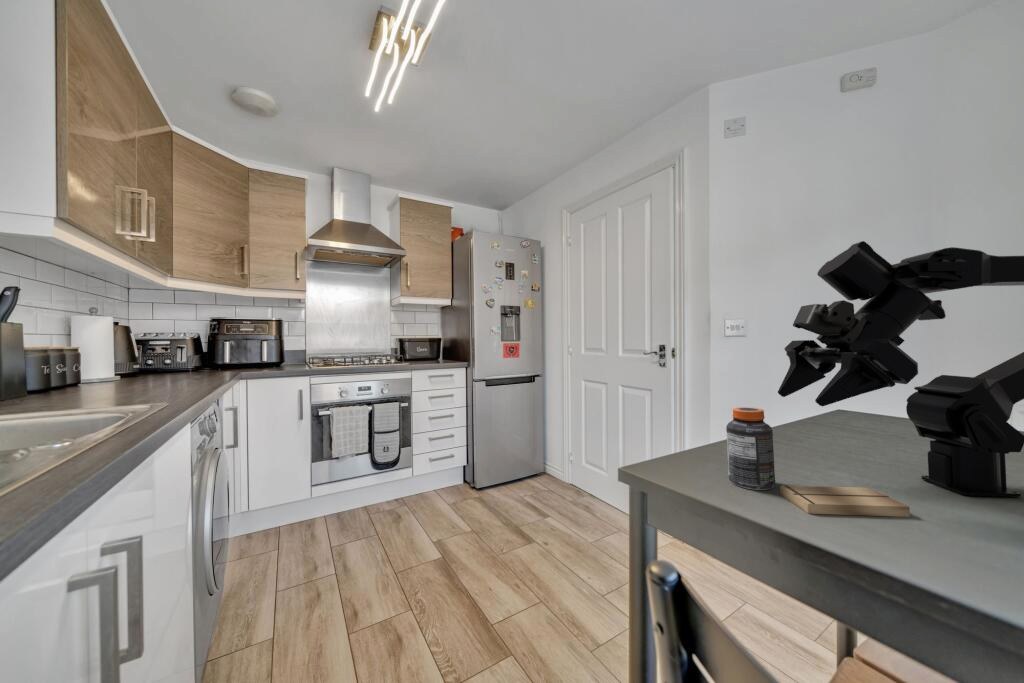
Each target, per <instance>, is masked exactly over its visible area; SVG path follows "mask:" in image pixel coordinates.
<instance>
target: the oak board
mask: <svg viewBox="0 0 1024 683" xmlns="http://www.w3.org/2000/svg"><path fill="white" fill-rule="evenodd" d="M779 488H780V490H779V491H780V495H781V496H782V497H784V498H785V499H787V500H788V501H790V503H792V504H794V505H795V506H797V507H798V508H799V509H800V510H802V511H804V512H805V513H806V514H811V515H813V514H814V515H815V514H816V515H817V514H818V515H840V516H841V515H843V516H844V515H845V516H846V515H847V516H872V517H873V516H876V517H878V516H879V517H902V518H903V517H904V518H906V517H907V518H908V517H909V518H911V517H910V516H911V515H910V514H911V513H910V506H908V505H907V504H904V503H902V502H900V501H898V500H896V499H894V498H892V497H890V496H889V495H885V494H884V493H881V492H880V491H877V490H875V489H873V488H870V487H856V486H855V487H854V486H851V487H848V486H844V487H843V486H813V485H810V486H809V485H780V486H779Z"/></svg>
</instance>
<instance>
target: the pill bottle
mask: <svg viewBox="0 0 1024 683" xmlns="http://www.w3.org/2000/svg"><path fill="white" fill-rule="evenodd" d="M732 418H733V419H732V420H731V421H729V422H728V423H727V424H726V428H725V429H726V450H727V451H726V452H727V468H728V469H727V471H728V472H727V473H728V480H729V481H730V482H731V484H733V485H735V486H738V487H741V488H743V489H748V490H757V491H765V490H771V489H773V488H775V486H776V474H775V454H774V453H775V452H774V438H773V437H774V434H773V433H774V431H773V428H772V426H771V425H770V424H768V423H766V422H765V421H764V420H765V418H766V417H765V411H764V409H762V408H759V407H757V408H755V407H747V406H746V407H742V406H741V407H734V408H733V409H732Z"/></svg>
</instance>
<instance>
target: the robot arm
mask: <svg viewBox="0 0 1024 683" xmlns="http://www.w3.org/2000/svg"><path fill="white" fill-rule="evenodd" d="M816 275H817V276H818V277H819V278H821V279H822V280H823V282H825V283H827V284H828V285H829V286H830V287H831V288H833V289H834V290H835V291H836V292H837V293H838V294H840V295H841V296H842V297H844V299H846V300H837V301H836V300H835V301H833V302H832V303H831V304H829V305H828V304H826V303H823V304H822V303H813V304H808V305H802V306H800V308H799V311H798V312H797V315H796V316H795V318H794V321H793V324H792V327H794V328H796V329H803V330H805V331H808V332H810V333H813V334H816V335H818V336H817V337H816V338H815V339H816V340H818V341H819V342H820V343H821V344H825V345H826V346H825V347H822V346H821V345H820V344H818V343H817V342H816V341H815V340H813V339H812V340H811V339H808V340H807V339H806V340H805V339H804V340H803V339H802V340H800V339H798V340H791V341H790V342H789V343H788V344H787V345H786V346H785V347H784V351H785V352H786V353H785V354H786V356H787V357H788V358H789V359H788V360H789V368H788V370H787V372H786V374H785V376H784V378H783V380H782V382H781V384H780V387H779V389H778V390H777V393H778V395H779V396H780V397H782V398H785V397H787V396H790V395H792V394H794V393H797V392H798V391H800V390H802V389H804V388H807V387H809V386H811V385H812V384H814V383H817V382H818V381H821V380H822V379H824V378H826V374H829V373H831V372H832V371H833V370H834V369H835V368H836V364H840V368H839V370H838V371H837V372H836V374H835V375H834V376H833V377H832V378H831V379H830V381H829V382H828V383H827V384H826V385H825V386H824V388H823V389H822V390H821V391H820V392H819V394H818V396H817V397H816V398H815V401H814V402H815V403H816V404H817V405H818V406H820V407H826V406H829V405H832V404H834V403H837V402H840V401H844V400H847V399H851V398H853V397H854V398H855V397H857V396H860V395H863V394H866V393H870V392H875V391H877V390H881V389H885V388H893V387H894V386H896V384H901V385H908V384H909V383H910V382H911V381H912V380H913V379H914V378H915V377H916V376H917V375H919V363H918V362H917V361H916V360H914V359H913V358H912V357H911V356H910V355H909V354H907V353H906V352H905V351H904V350H902V349H901V348H900V347H899V346H901V345H902V344H903V343H904V342H905V340H904V338H902V337H901V335H902V334H904V333H905V331H906V330H908V328H910V326H912V325H913V324H914V323H915V322H916V321H917V320H918V321H931V320H932V321H933V320H934V321H935V320H944V319H945V318H946V312H945V309H944V308H943V305H942V304H943V301H942V300H941V299H936V300H932V299H931V298H930V297H928V296H927V295H926V294H933V293H937V292H945V291H952V290H953V291H955V290H960V289H966V288H973V287H994V286H995V287H997V286H999V287H1001V286H1003V287H1005V286H1008V287H1011V286H1016V287H1017V286H1024V255H992V254H988V253H986V252H984V251H982V250H980V249H978V250H977V249H971V248H963V247H953V246H952V247H945V248H941V249H936V250H934V251H930V252H926V253H925V252H924V253H922V254H918V255H913V256H910V257H907V258H906V257H905V258H903V259H901V261H900V262H898V263H895V264H894V263H893V264H891V263H890V262H889V261H888V260H886V259H885V258H884V257H882V256H881V255H880V254H879V253H878V252H876V250H874V248H872V246H871V245H870V244H868V242H866V241H864V240H862V241H859V242H856V243H854V244H851V245H850V247H848V248H847V249H846V250H844V251H843V252H841V253H838V254H837V255H836V256H834V257H833V258H832V259H831V260H828V261H826V262H825V263H824V264H823V265H822V266H821V267H820V269H819V270H818V272H817V274H816ZM855 300H860V301H866V303H865V304H863V305H862V306H861V307H860V308H859V309H858V310H857V311H856V312H855V305H854V303H852V301H855ZM849 301H851V302H849ZM913 389H914V390H916V391H915V392H914V393H912V394H910V395H909V396H908V398H906V402H907V403H906V408H905V409H906V415H907V416H908V419H909V420H910V421H911V422H912V423H913V425H914V428H915V430H916V431H917V433H918V436H919V437H922V438H928V439H932V440H929V449H930V450H928V452H927V464H928V465H927V466H928V475H921V479H922V480H924V481H926V482H929V483H931V484H934V485H935V486H940V487H942V488H945V489H948V490H950V491H953V492H955V493H957V494H960V495H964V496H971V497H973V496H974V497H978V496H979V497H1005V498H1006V497H1007V498H1008V497H1009V498H1010V497H1013V498H1015V497H1016V498H1019V497H1022V494H1021V493H1022V492H1019V491H1015V490H1013V489H1009V488H1008V487H1007V485H1008V484H1007V465H1006V454H1008V455H1009V454H1010V453H1021V451H1022V449H1023V447H1024V434H1022V433H1021V432H1020V431H1019V430H1018V429H1016V427H1014V426H1013V425H1012V424H1010V423H1009V422H1008V421H1009V420H1010V418H1011V415H1012V412H1013V409H1014V405H1016V404H1017V403H1019V402H1021V401H1023V400H1024V351H1023V352H1020V353H1019V354H1017V355H1015V356H1013V357H1011V358H1009V359H1007V360H1005V361H1003V362H1002V363H999V364H997V365H995V366H993V367H992V368H991V367H990V369H987V370H986V371H984V372H981V373H979V374H978V375H976V376H964V375H962V376H960V375H950V374H949V375H947V374H941V375H939V376H936V377H934V378H933V379H932V380H930V381H929V382H928V383H926V384H924V385H921V386H914V388H913Z"/></svg>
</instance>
